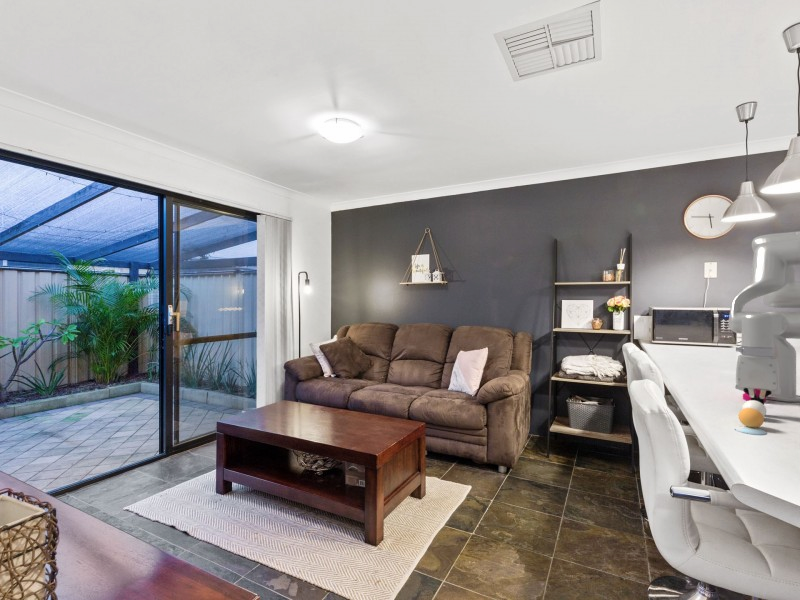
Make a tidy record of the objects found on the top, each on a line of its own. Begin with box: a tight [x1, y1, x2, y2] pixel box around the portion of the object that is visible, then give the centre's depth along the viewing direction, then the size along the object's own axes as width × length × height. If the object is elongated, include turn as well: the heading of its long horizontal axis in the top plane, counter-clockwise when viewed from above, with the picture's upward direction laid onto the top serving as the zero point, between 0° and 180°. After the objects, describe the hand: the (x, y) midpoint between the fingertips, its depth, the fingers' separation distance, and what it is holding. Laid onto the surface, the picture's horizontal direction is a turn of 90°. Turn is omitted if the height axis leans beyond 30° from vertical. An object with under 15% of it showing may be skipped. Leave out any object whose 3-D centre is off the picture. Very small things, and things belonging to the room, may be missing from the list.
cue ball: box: [742, 400, 767, 418], centre depth 123 cm, size 6×6×6 cm
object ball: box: [738, 408, 765, 428], centre depth 115 cm, size 6×6×6 cm
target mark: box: [735, 425, 767, 436], centre depth 112 cm, size 7×7×1 cm
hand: (757, 410), depth 127 cm, fingers closed
